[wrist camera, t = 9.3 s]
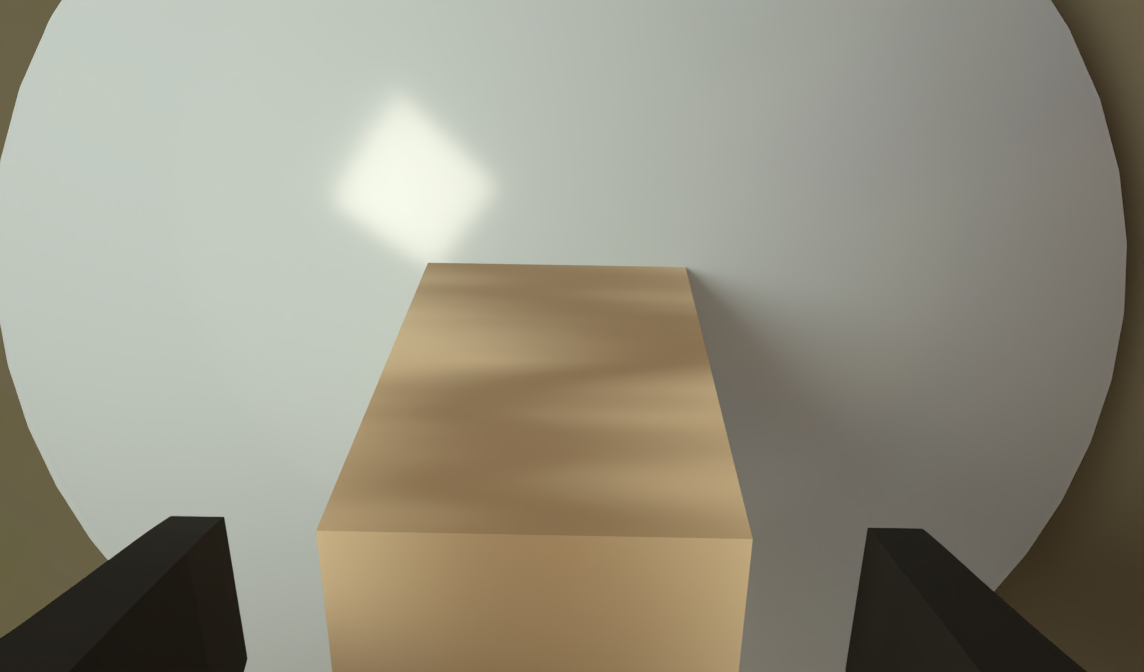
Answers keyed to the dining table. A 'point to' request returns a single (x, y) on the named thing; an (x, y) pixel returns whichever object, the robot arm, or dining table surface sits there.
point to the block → (540, 484)
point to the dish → (567, 258)
